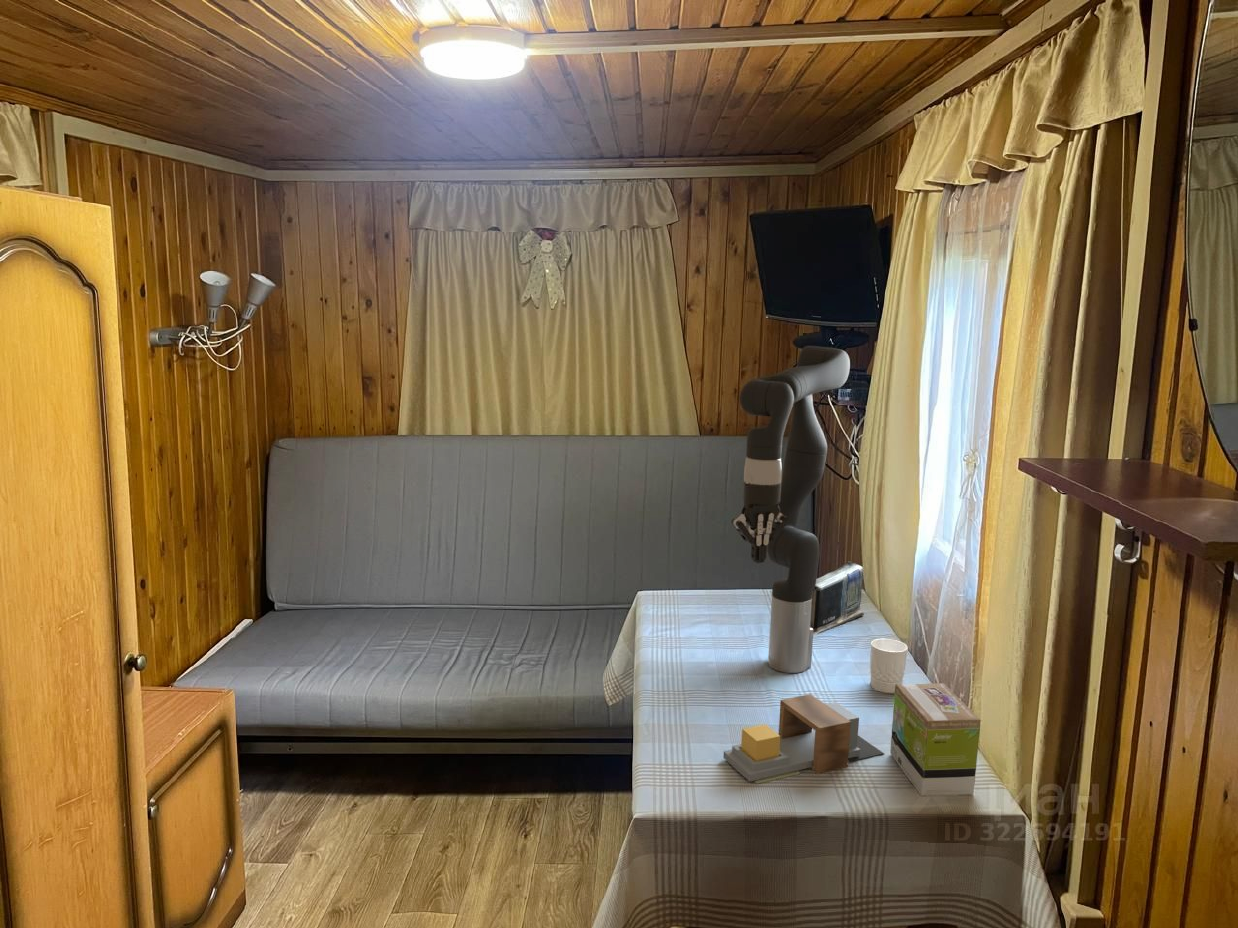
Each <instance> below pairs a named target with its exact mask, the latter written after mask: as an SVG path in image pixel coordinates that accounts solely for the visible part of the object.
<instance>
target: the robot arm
mask: <svg viewBox="0 0 1238 928" xmlns="http://www.w3.org/2000/svg"><path fill="white" fill-rule="evenodd" d="M850 369H851V361H850V356H849V355H848V353H847V352H846V351H845V350H843V349H840V348H836V347H835V348H834V347H827V346H816V345H806V346H804V347H802V349H801V350H800V352H799V354H798V358H797V362H796V366H794V367H791V368H790V367H789V368H787V369H785V370H782V371H781V372H778V373H776V374H774V375H768V376H761V377H756V378H753V379H750V380H748V381H747V382H745V384H744V385H743V387H742V388H741V390H740V392H739V397H738V399H739V405H740V407H741V409H742V410H743V411H744V412H745V413H747V414H748V415H752V416H759V417H760V416H761V417H770V418H769V422H768V423H767V425H765V426H758V427H753V428H751V429H749V430H748V432H747V436H746V450H745V454H746V455H745V463H744V469H743V485H742V486H743V487H742V488H743V489H742V490H743V491H742V501H743V507H742V509H741V514H740V515H739V516H738V517H737V518H732V520H731V525H732V526H733V527H734V529H735V530H736V532H737V533H738V534H739V536H740V537H741V539H742V540H743V541H744V542H746V543H748V544H750V545H751V550H750V551H751V552H750V553H751V554H750V558H751V559H752V561H753V562H754V563H756V564H762V563H765V560H766V559H767V555H768V557H769V560H771V562H773V563H775V564H777V565H780V566H782V567H786V568H788V575H787V578H781V579H779V580H778V579H777V580H776V581H774V582H773V584H772V587H771V589H772V590H771V604H770V607H771V608H770V622H769V624H770V625H769V643H768V657H767V659H768V660H767V664H768V666H769V667H770V668H772V669H773V670H775V671H777V672H780V673H782V672H783V673H787V674H794V673H802V672H805V671H806V670H807V669H809V668H812V657H813V641H814V634H813V628H811V627H810V621H811V605H812V593H813V590H814V587H815V584H816V579H818V568H819V562H820V561H819V560H820V543H819V539H818V537H817V536H816V535H815V534H814V533H812V532H809V531H806V530H804V529H803V530H802V529H799V528H798V520H799V517H800V513H801V509H802V507H803V505H804V503H805V502H806V500H807V499H808V497H809V496H810V495H811V493H812V492H814V490H815V488H816V487H817V486H818V485H819V484H820V481H821V479H822V478H823V475H824V472H825V466H826V459H827V454H828V443H827V440H826V437H825V434H824V432H823V429H822V427H821V425H820V423H819V421H818V418H817V416H816V412H815V409H814V400H813V395H814V394H817V393H821V392H823V391H828V390H835V389H839V388H841V387H843V386H844V385H845V383H846V382H847V380H848V377H849V375H850ZM791 412H792V413H791ZM790 415H791V419H790V420H791V421H790V425H789V432H788V437H787V442H786V447H785V448H786V449H785V455H784V460H783V465H782V452H783V451H782V450H783V438H784V435H785V430H786V426H787V423H788V421H789V417H790ZM782 466H783V467H782ZM782 468H783V469H782ZM746 526H748V528H747V527H746Z"/></svg>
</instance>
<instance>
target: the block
mask: <svg viewBox="0 0 1238 928" xmlns="http://www.w3.org/2000/svg"><path fill="white" fill-rule="evenodd" d="M740 744H741V750H742V751H743V752H744V753H746V754H747V755H748V756H749V757H750V758H751V759H752V760H753V761H755V762H757V761H762V760H766V759H771V758H775V757H779V749H780V736H779V733H777V732H776V731H774V730H773V729H772V728H771V727H769V726H768V725H767V724H765V723H763V724H758V725H754V726H748V727H744V728H742V729H741V743H740Z"/></svg>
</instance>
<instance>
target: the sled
mask: <svg viewBox="0 0 1238 928" xmlns="http://www.w3.org/2000/svg"><path fill="white" fill-rule="evenodd" d="M825 704H826V705H827V706H829V707H830V708H832V709H833V710H835V711H836V712H838V713H839V714H840V715H842V716H843V717H845V718H846V719H848V720H849V721H851V728H850V742H849V755H848V758H852V757H857V756H860V749H859V748H858V747H857V740H858V736H859V726H860V725H859V724H860V723H859V722H860V717H859V716H857V715H856V714H854V713H853V712H852V711H850V710H849V709H847V708H846V707H844V706H842V705H841V704H840V703H838V702H837V701H835V702H830V703H825ZM814 743H815V731H812V732H811V733H807V734H802V735H797V736H793V737H788V738H783V739H780V749H779V757H775V758H771V759H766V760H762V761H757V762H755V761H753V760H752V759H751V758H750V757H749V756H748V755H747V754H746V753H744V752H743V751H742V750H741V743H739V744H736V745H731V746H732V747H731V749H728V750H724V751H723V756H722V757H723V759H724V760H725V761H727V762H728V763H729V764H730V765H731V766H732V767H733V768H734V769H735V770H736V771H737V772H739V774H741V775H742V776H743V777H744V778H745V779H746V780H747V781H748V782H752V781H753V780H758V779H762V778H766V777H771V776H775V775H779V774H784V773H788V772H792V771H800V770H805V769H809V768H813V758H814Z"/></svg>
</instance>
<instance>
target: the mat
mask: <svg viewBox="0 0 1238 928" xmlns="http://www.w3.org/2000/svg"><path fill="white" fill-rule="evenodd" d="M797 775H800V773H799V772H798V770H796V771H792V772H788V773H784V774H779V775H775V776H771V777H766V778H762V779H758V780H753V781H754V783H756V785H759V784H763V783H767V782H772V781H776V780H779V779H784V778H788V777H792V776H797Z"/></svg>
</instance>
